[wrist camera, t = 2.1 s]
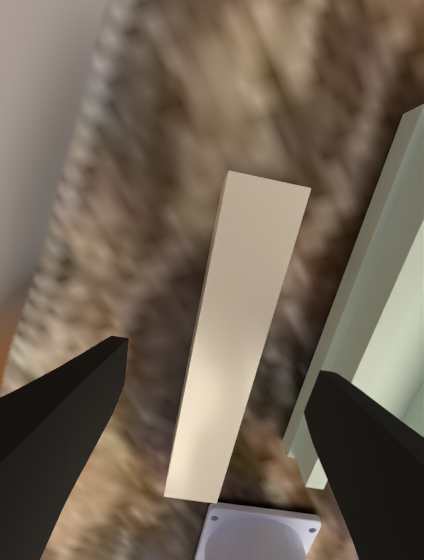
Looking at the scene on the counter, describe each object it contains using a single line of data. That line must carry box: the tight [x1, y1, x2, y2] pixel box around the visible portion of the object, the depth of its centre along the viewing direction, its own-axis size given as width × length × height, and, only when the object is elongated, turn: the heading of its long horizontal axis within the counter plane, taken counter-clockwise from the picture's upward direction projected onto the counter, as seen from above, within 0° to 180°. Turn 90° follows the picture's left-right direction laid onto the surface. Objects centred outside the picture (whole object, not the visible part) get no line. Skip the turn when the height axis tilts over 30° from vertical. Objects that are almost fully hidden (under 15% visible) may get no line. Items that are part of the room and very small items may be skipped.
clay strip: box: [164, 170, 311, 504], centre depth 11 cm, size 14×2×4 cm, turn 169°
